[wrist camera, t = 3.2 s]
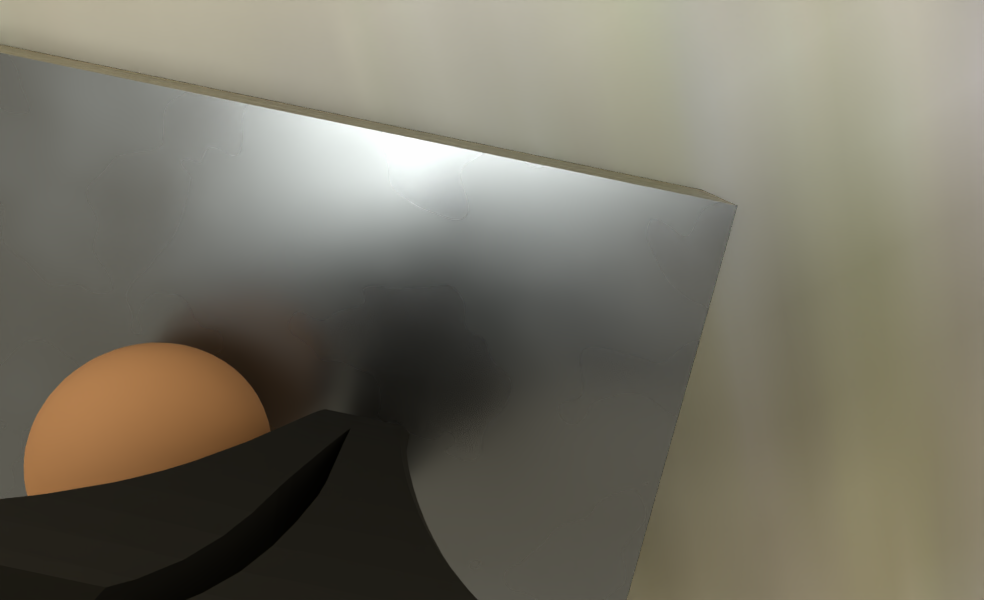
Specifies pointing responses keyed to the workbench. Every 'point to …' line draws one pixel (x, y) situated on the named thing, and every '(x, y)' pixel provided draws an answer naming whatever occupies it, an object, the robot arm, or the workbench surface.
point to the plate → (367, 298)
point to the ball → (138, 417)
